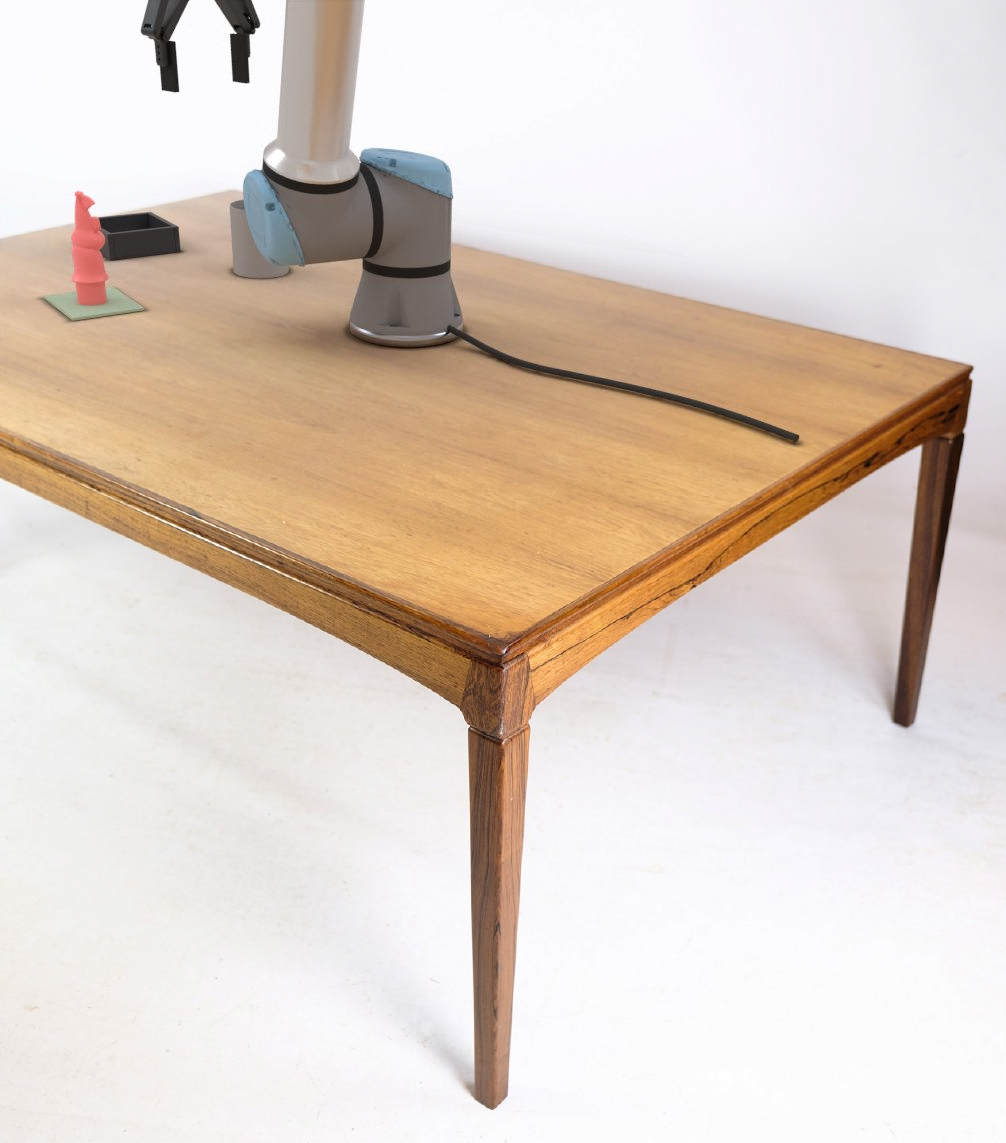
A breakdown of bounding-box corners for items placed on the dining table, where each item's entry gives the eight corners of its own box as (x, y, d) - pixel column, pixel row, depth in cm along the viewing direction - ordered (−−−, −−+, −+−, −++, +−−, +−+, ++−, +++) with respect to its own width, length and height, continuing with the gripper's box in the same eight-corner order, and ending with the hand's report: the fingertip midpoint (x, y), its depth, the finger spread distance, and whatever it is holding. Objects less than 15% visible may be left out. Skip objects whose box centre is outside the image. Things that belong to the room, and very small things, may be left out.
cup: (294, 265, 201) (292, 200, 197) (281, 279, 194) (278, 212, 189) (241, 262, 202) (238, 197, 197) (226, 276, 195) (222, 209, 190)
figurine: (120, 300, 180) (109, 191, 173) (92, 309, 177) (79, 197, 170) (94, 294, 183) (82, 185, 176) (66, 302, 179) (52, 191, 172)
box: (180, 251, 206) (178, 226, 204) (110, 260, 200) (107, 234, 198) (153, 236, 214) (150, 211, 213) (84, 243, 208) (81, 218, 207)
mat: (144, 310, 178) (144, 307, 178) (72, 321, 173) (72, 318, 173) (112, 289, 187) (112, 286, 186) (43, 298, 181) (43, 295, 181)
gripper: (241, -82, 185) (250, 76, 195) (102, -82, 166) (119, 92, 176) (280, -79, 181) (286, 81, 191) (142, -79, 163) (157, 98, 173)
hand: (206, 87), depth 184 cm, fingers open, 13 cm apart
